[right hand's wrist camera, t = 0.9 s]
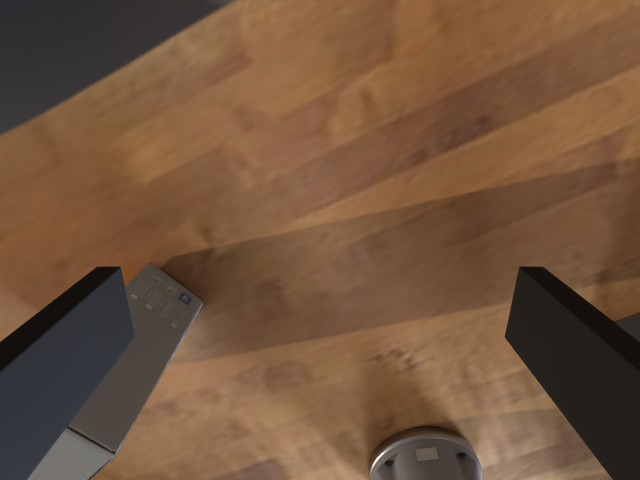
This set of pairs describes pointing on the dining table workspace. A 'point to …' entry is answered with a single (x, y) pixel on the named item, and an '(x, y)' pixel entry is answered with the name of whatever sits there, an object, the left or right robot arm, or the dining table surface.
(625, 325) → the post
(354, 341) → the dining table surface
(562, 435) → the dining table surface
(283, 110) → the dining table surface
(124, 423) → the hard drive box
